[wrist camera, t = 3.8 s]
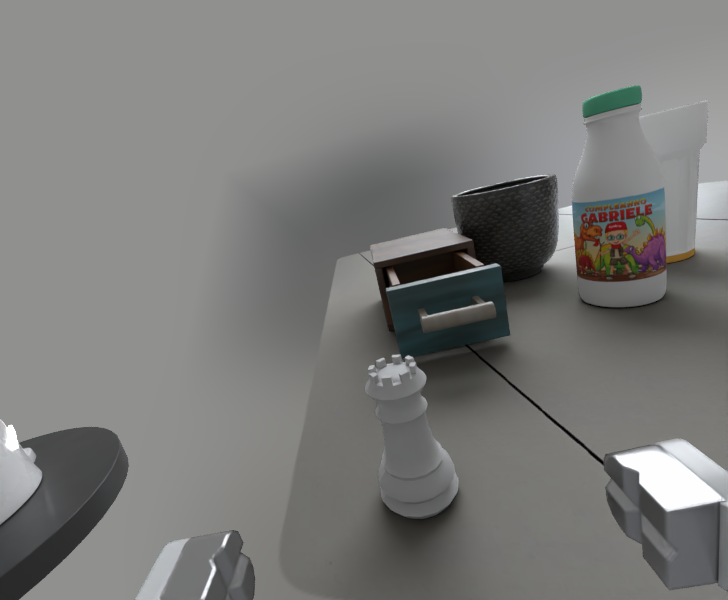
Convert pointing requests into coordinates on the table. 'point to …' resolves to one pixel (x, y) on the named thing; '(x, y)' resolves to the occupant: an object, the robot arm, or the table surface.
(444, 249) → the cabinet
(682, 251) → the cup
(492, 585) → the table surface
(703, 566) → the robot arm
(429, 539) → the table surface
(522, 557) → the table surface
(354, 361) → the table surface
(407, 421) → the rook chess piece
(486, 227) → the planter
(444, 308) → the drawer
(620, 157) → the milk bottle
